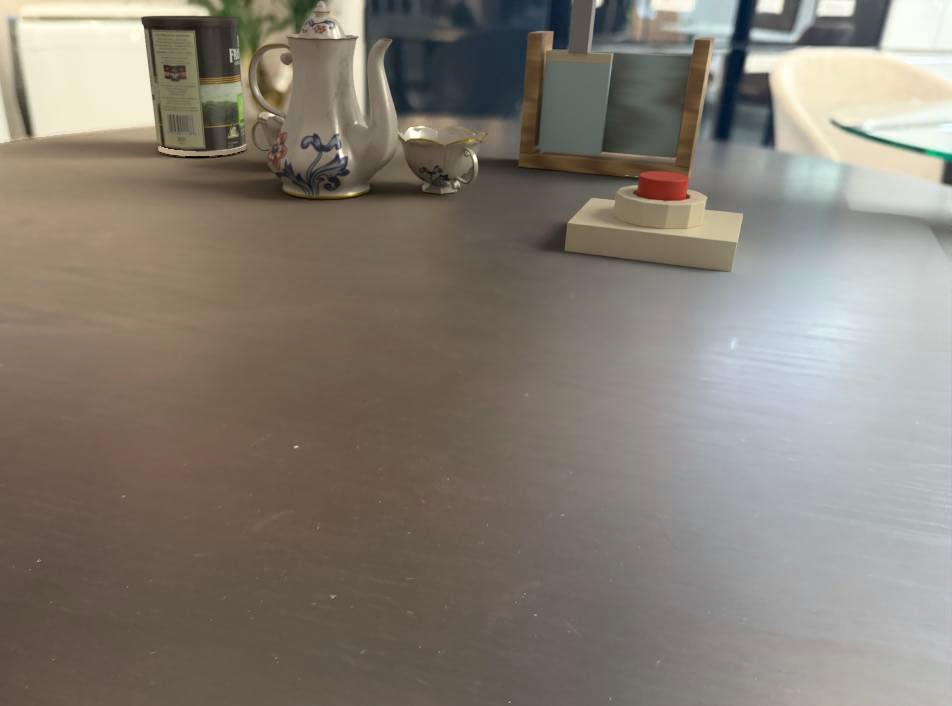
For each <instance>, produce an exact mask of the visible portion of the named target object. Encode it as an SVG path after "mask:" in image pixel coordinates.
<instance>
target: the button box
mask: <svg viewBox="0 0 952 706" xmlns="http://www.w3.org/2000/svg"><path fill="white" fill-rule="evenodd" d="M637 189H638V184H635V185H628V186H623V187H620V188H619V189H618V190H617V191H616V192H615V199H607V198H598V197H590V199H589V200H587V201H586V203H585V204H584V205H583V206H582V207H581V208H580V209H579V210H578V211H577V212H576V213H575V214H574V215H573V216H572V218H571V219H570V220H569V221H567V223H566V231H565V233H566V234H565V243H564V251H565V252H571V253H572V252H573V253H579V254H585V255H586V254H587V255H594V256H604V257H611V258H620V259H627V260H636V261H642V262H651V263H657V264H667V265H673V266H682V267H690V268H698V269H704V270H713V271H721V272H729V273H732V271H733V267H734V262H735V258H736V253H737V248H738V244H739V239H740V233H741V228H742V224H743V218H744V213H743V212H742V213H741V212H732V211H722V210H712V209H706V207H707V200H708V196H707V195H705V194H703V193H701V192H699V191H696V190H693V189H688V188H687V194H686V200H681V201H662V200H652V199H646V198H642V197H638V196H637Z"/></svg>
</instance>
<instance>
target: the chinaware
mask: <svg viewBox="0 0 952 706" xmlns="http://www.w3.org/2000/svg"><path fill="white" fill-rule="evenodd" d="M312 13H313V14H314V16H313V17H309V18H307V19H305V21H304V22H303V24H302V26H301V29H300V31H299V33H297V34H295V33H291V34H285V37H286V39H287V41H288V42H282V41H280V42H278V41H277V42H269V43H266V44H263V45H261V46H260V47H259V48H257V49H256V51H255V52H254V53H253V55H252V56H251V58H250V61H249V65H248V70H247V78H248V85H249V88H250V89H249V90H250V92H251V94H252V97H253V98H254V100H255V101H256V103H257V104H258V105H259V107H261V108H262V109H263V110H262V111H260V112H259V113H258V114H257V117H256V120H257V121H255V123H254V124H253V125H252V127H251V141H252V142H253V144H254V146H255V147H256V148H257V149H258V150H259V151H262V152H267V153H268V154H267V158H266V161H267V166H268V167H269V169H270V171H271V172H272V173H273V174H274V175H275V176H276V178H278V179H279V180H280V181H281V182H282V184H283V185H282V187H281V190H282V192H283V193H285V194H287V195H289V196H291V197H296V198H302V199H310V200H340V199H349V198H350V199H351V198H356V197H360V196H363V195H365V194H368V193H369V192H370V191H371V186H370V183H369V181H370V180H371V179H372V178H373V177H374V176H375V175H376V174H377V173H379V172H380V171H381V170H382V169H383V168H384V167H386V166H387V164H389V163H390V162H391V161H392V159H393V158H394V156H395V154H396V152H397V147H398V141H399V142H400V143H401V147H402V150H403V155H404V159H405V161H406V164H407V167H409V169H410V171H411V172H412V173H413V174H414V175H415V177H417V178H418V179H419V180H421V181H423V182H425V183H426V184H422V185H421V187H422V188H421V189H422V192H423V193H425V192H426V193H433V194H439V195H443V194H450V193H451V194H452V193H457V192H458V190H459V189H460V188H461V183H462V184H464V185H471V184H473V183H474V182H475V181H476V178H477V176H478V172H479V164H478V163H479V161H478V153H479V150H480V148H481V145H482V143H483V142H484V141H486V140H487V139H488V138H489V133H488V132H487V131H481V132H478V133H475V132H473V131H472V130H471V129H470V128H468V127H465V126H462V125H452V126H451V125H450V126H447V127H444V128H441V129H438V131H437V129H434V128H431V127H429V126H426V125H417V124H416V125H413V126H409V127H408V128H406V129H405V131H403V132H401V131H399V123H398V115H397V111H396V107H395V103H394V100H393V96H392V93H391V89H390V85H389V82H388V78H387V74H386V70H385V66H384V65H385V64H384V62H385V61H384V60H385V54H386V52H387V50H388V48H389V46H390V45H391V44H392V42H393V39H391V38H380V39H378V40H377V41H376V42H375V43H374V44H373V45H372V47H371V49H370V51H369V54H368V57H367V86H368V95H369V97H368V99H369V110H370V111H369V114H370V118H369V125H367V123H366V121H365V118H364V117H363V113H362V111H361V108H360V105H359V102H358V97H357V93H356V89H355V88H356V87H355V80H354V56H355V51H356V45H357V40H358V38H359V35H354V34H345V32H344V30H343V28H342V25H341V23H340V22H339V21H338V20H337V19H335V18H333V17H330V16H329V14H330V13H331V10H330V9H329V8H328V7H327V4H326V3H325V1H323V0H319V1H318V2H317V4H316V7H315V8H314V9H313V10H312ZM275 49H276V50H277V49H286V50H288V51H289V52H283V53H281V54H280V56H279V60H280V62H281V63H282V64H283V65H285V66H290V65H291V64H292V87H291V93H290V99H289V104H288V107H287V110H284V111H280V110H278V109H276V108H274V107H273V106H272V105H270V104H269V103H268V102H267V100H266V99H265V98H264V96H263V95H262V93H261V91H260V88H259V84H258V79H257V70H258V64H259V62H260V60H261V58H262V57H263V55H264V54H266V53H267V52H268V51H271V50H275ZM259 124H260V126H261V128H262V132H263V134H264V137H265V138H264V139H265V140H266V143H267V144H268V146H269V148H264V147H263V146H261V145H260V144H259V143H258V141H257V138H256V130H257V127H258V125H259ZM471 169H472V175H471V177H470V179H469V180H468V181H467V180H465V179H463V178H464V177H465V176H467V174H468V173H469V172H470V171H471ZM423 186H425V187H423ZM424 188H425V189H424ZM457 189H458V190H457Z"/></svg>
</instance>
